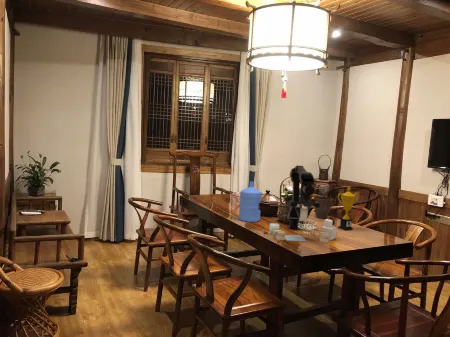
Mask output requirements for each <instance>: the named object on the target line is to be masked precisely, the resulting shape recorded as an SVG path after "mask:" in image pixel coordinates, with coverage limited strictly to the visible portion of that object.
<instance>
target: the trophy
mask: <svg viewBox="0 0 450 337" xmlns="http://www.w3.org/2000/svg"><path fill="white" fill-rule="evenodd" d="M340 195H341V196H340ZM359 195H360V194H359V193H358V192H355V193H354V194H353V193H352V192H351V186H347V191H346V192H345V193H344V192H343V193H338V195H337V200H338V202H339V203H341V205H342V207H343V208H342V210H344V211H345V215H344V216H342V217H340V222H339V223H340V224H339V225H338V227H337V228H338V229H340V230H343V231H353V229H354V227H353V226H352V223H353V219H352V218H350V216H349V211H351V210H352V208H353V205H354V204H355V203H356V202H357V200H358V199H359ZM339 197H340V198H339ZM341 200H342V201H341Z"/></svg>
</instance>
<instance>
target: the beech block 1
mask: <svg viewBox="0 0 450 337" xmlns="http://www.w3.org/2000/svg"><path fill="white" fill-rule="evenodd" d="M285 235H286V232H285V231H284V230H281V229H279V230H274V234H273V235H272V236H273V237H272V238H273V240H276V241H277V242H279V241H286V239H285Z"/></svg>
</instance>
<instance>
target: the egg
mask: <svg viewBox="0 0 450 337" xmlns="http://www.w3.org/2000/svg"><path fill="white" fill-rule="evenodd" d="M307 216H308V209H307V208H305V207H304V208H302V207H301V208H300V218H299V220H298V221H299V222H308V218H307Z"/></svg>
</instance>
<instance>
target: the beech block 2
mask: <svg viewBox="0 0 450 337" xmlns="http://www.w3.org/2000/svg"><path fill="white" fill-rule="evenodd" d="M318 235H319V237H318V241H319V243H322V244H323V243H324V244H329V241H330V240H329V234H328V233H323V232H321V231H320V232H319V234H318Z"/></svg>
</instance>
